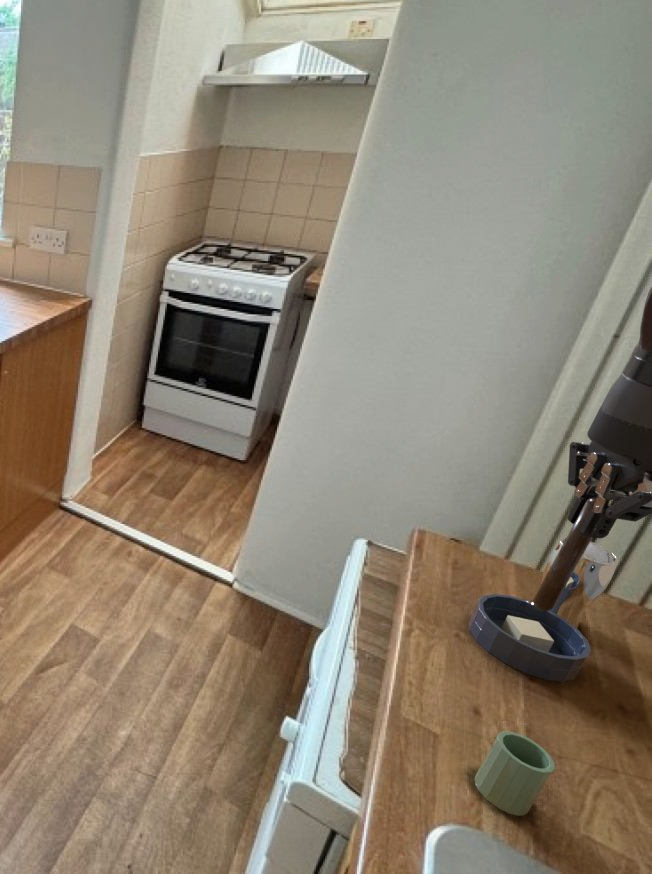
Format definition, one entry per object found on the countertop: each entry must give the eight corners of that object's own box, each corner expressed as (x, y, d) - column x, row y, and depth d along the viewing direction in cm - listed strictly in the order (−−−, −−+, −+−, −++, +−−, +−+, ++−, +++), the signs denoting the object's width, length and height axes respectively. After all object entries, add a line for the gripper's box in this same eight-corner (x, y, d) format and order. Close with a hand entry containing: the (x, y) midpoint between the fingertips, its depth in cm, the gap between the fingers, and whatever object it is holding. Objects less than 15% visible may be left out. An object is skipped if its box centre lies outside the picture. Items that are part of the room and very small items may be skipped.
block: (528, 640, 97) (538, 621, 96) (544, 660, 94) (554, 641, 92) (498, 633, 98) (507, 615, 97) (512, 652, 95) (521, 634, 93)
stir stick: (544, 605, 85) (605, 495, 78) (553, 615, 84) (616, 504, 76) (527, 601, 86) (585, 492, 79) (535, 612, 84) (596, 501, 77)
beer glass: (525, 597, 106) (560, 529, 101) (582, 621, 102) (621, 551, 96) (520, 617, 102) (555, 547, 97) (578, 644, 97) (620, 572, 92)
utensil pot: (512, 783, 77) (539, 738, 74) (536, 824, 73) (565, 778, 70) (465, 770, 79) (489, 725, 76) (485, 809, 74) (511, 764, 71)
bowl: (543, 630, 100) (557, 605, 98) (596, 696, 89) (613, 669, 87) (451, 610, 104) (463, 585, 102) (491, 671, 93) (505, 645, 90)
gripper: (741, 450, 66) (663, 572, 72) (643, 395, 78) (584, 504, 84) (652, 438, 68) (584, 557, 74) (570, 386, 80) (518, 493, 87)
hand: (584, 528), depth 79 cm, fingers closed on stir stick, 2 cm apart
